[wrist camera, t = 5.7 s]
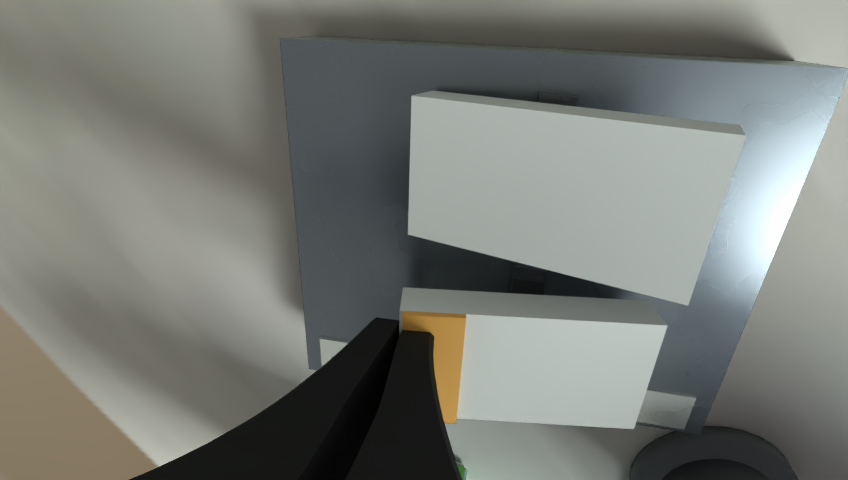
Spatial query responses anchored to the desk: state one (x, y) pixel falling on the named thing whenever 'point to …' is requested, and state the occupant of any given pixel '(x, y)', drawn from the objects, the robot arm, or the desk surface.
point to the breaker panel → (472, 271)
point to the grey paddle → (571, 187)
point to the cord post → (711, 457)
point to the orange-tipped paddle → (537, 355)
